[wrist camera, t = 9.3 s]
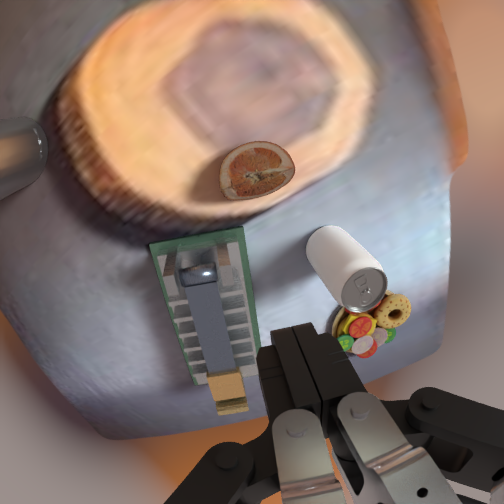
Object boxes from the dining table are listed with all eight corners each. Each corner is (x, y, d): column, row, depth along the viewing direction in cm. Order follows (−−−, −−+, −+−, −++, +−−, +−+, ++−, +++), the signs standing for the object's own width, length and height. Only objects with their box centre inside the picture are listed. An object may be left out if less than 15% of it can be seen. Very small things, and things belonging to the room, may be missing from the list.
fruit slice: (225, 204, 39) (229, 216, 34) (209, 152, 36) (210, 157, 31) (290, 184, 39) (302, 194, 34) (277, 132, 36) (288, 135, 32)
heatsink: (149, 242, 39) (137, 276, 31) (242, 225, 40) (253, 256, 32) (194, 382, 50) (196, 424, 42) (264, 370, 51) (275, 411, 43)
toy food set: (410, 292, 50) (420, 302, 47) (376, 351, 55) (383, 362, 52) (350, 278, 46) (359, 289, 43) (316, 345, 51) (322, 358, 48)
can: (314, 275, 45) (346, 325, 34) (297, 237, 42) (330, 282, 31) (353, 254, 44) (395, 297, 34) (339, 215, 42) (384, 253, 31)
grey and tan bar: (177, 265, 35) (176, 274, 33) (216, 258, 35) (217, 266, 33) (214, 393, 43) (215, 403, 41) (244, 388, 43) (246, 398, 42)
